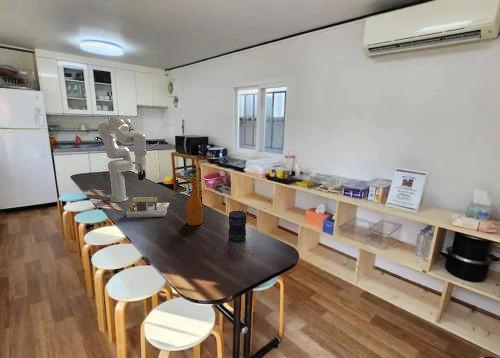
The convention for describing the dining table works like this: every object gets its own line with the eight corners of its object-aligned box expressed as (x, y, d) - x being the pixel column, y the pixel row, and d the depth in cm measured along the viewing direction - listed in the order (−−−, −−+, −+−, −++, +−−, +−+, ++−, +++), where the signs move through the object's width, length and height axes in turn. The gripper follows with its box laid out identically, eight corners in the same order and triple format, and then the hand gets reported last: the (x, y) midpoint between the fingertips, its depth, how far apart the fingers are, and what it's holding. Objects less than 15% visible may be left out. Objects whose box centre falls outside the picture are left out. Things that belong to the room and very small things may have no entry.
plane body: (126, 217, 163) (125, 204, 161) (130, 212, 172) (129, 199, 170) (165, 216, 168) (164, 203, 165) (166, 211, 176) (166, 199, 174)
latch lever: (132, 202, 165) (132, 198, 164) (133, 200, 167) (133, 197, 166) (156, 201, 168) (156, 198, 167) (157, 200, 170) (157, 196, 169)
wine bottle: (205, 222, 161) (205, 176, 154) (196, 227, 152) (195, 180, 145) (193, 219, 165) (192, 174, 158) (183, 224, 156) (182, 177, 149)
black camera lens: (239, 244, 133) (239, 218, 130) (224, 239, 138) (224, 214, 135) (249, 237, 141) (250, 213, 138) (235, 233, 146) (235, 209, 143)
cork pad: (151, 209, 180) (151, 207, 180) (154, 203, 190) (154, 202, 190) (167, 208, 182) (167, 207, 182) (169, 203, 192) (169, 202, 192)
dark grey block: (136, 210, 165) (136, 203, 164) (138, 207, 170) (138, 200, 169) (146, 210, 166) (146, 203, 165) (148, 207, 171) (147, 200, 170)
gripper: (137, 150, 173) (139, 176, 177) (130, 154, 157) (132, 182, 161) (148, 150, 175) (150, 176, 179) (143, 154, 158) (145, 181, 162)
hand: (142, 178), depth 170 cm, fingers open, 6 cm apart
